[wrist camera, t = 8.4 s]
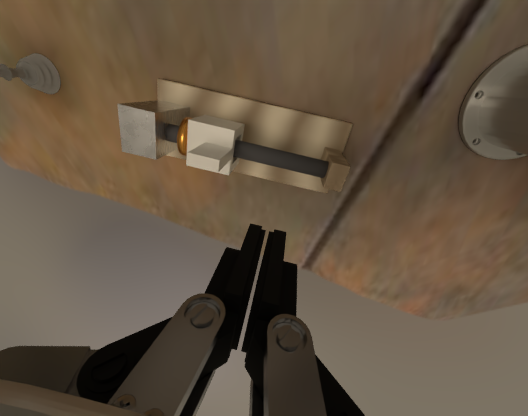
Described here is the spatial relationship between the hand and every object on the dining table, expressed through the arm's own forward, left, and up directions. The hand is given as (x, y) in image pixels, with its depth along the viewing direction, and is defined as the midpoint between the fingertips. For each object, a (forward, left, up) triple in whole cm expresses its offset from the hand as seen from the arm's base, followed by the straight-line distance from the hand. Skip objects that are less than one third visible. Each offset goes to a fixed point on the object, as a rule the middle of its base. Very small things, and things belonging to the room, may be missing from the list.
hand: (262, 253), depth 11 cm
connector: (+14, +1, -24) cm, 28 cm away
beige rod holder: (+5, +1, -25) cm, 26 cm away
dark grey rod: (+5, +1, -19) cm, 20 cm away
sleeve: (+8, +1, -21) cm, 22 cm away
